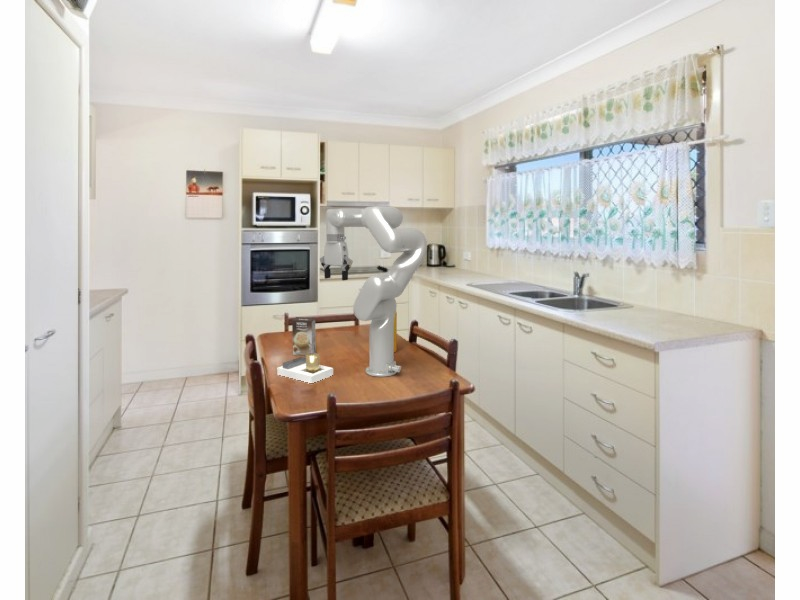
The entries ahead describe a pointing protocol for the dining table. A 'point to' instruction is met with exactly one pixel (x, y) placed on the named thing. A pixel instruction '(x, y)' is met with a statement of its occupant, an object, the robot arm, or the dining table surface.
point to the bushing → (312, 363)
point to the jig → (303, 371)
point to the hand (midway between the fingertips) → (336, 279)
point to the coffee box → (303, 336)
